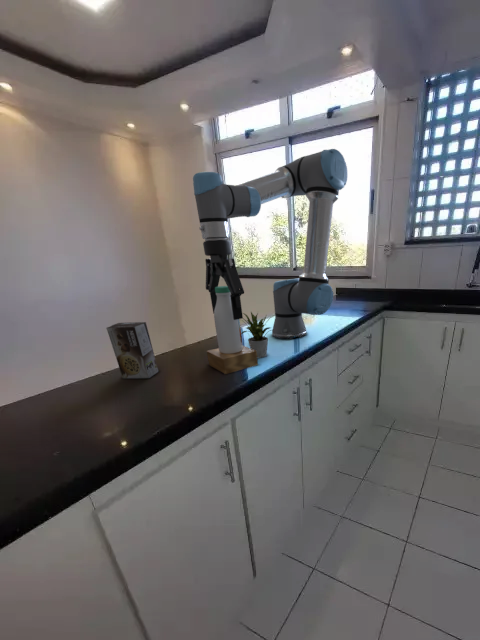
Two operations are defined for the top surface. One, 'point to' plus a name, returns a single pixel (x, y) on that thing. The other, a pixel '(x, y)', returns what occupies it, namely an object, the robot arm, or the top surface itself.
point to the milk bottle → (226, 323)
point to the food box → (133, 349)
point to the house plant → (257, 335)
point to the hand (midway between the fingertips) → (227, 316)
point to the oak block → (232, 360)
